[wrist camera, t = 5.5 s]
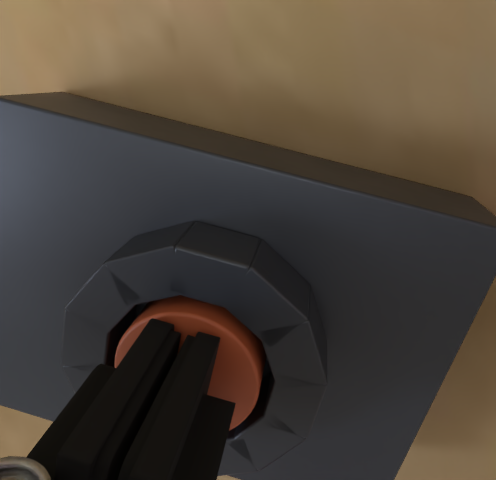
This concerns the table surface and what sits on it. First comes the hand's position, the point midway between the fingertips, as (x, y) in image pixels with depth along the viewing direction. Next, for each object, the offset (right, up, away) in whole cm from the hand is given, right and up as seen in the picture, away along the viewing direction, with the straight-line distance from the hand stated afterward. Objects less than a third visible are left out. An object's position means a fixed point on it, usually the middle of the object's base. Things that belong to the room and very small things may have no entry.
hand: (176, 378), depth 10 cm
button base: (+1, +2, +5) cm, 5 cm away
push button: (0, +1, +2) cm, 2 cm away
